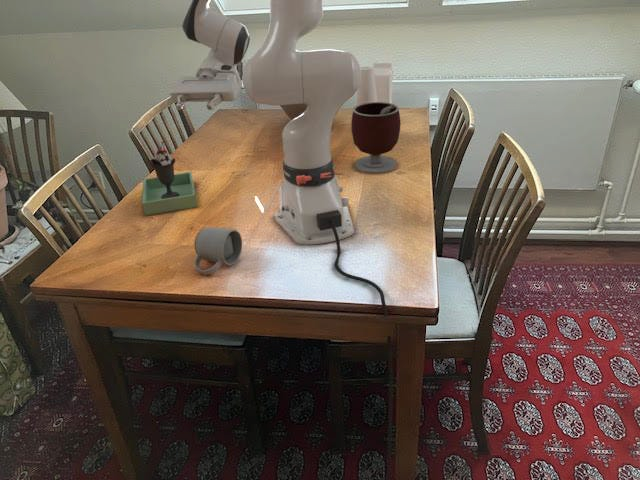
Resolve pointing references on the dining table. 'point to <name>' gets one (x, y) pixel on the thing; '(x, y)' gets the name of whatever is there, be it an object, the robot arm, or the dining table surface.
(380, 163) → the mate gourd
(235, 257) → the ceramic mug
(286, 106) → the ceramic bowl
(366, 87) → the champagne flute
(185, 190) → the green tray
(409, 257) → the dining table surface
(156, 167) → the sundae
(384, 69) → the milk
